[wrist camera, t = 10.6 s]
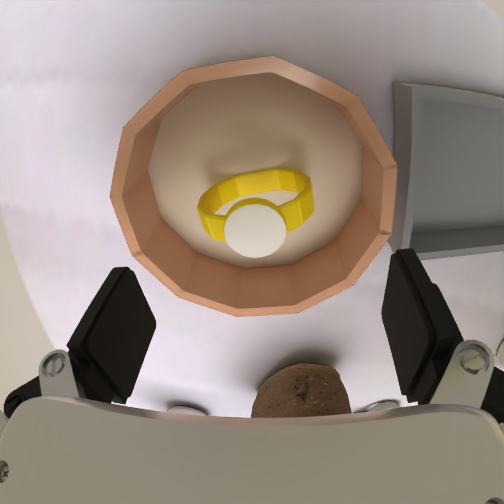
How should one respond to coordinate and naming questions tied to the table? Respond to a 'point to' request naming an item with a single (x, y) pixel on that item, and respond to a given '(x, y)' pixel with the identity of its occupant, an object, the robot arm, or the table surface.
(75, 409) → the robot arm
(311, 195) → the watch
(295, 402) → the stone
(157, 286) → the table surface
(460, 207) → the parts tray
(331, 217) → the bowl
